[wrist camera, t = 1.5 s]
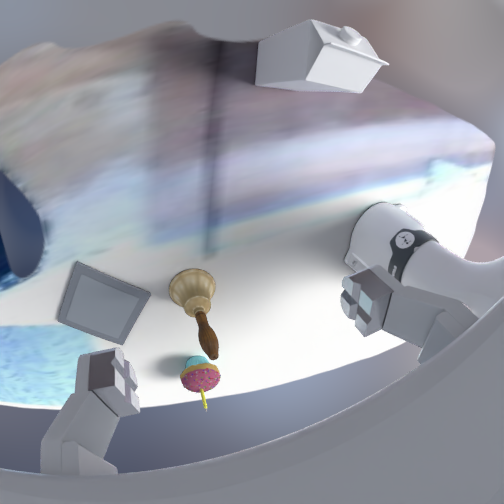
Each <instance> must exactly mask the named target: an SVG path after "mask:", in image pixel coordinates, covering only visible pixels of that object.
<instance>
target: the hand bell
mask: <svg viewBox="0 0 504 504" xmlns="http://www.w3.org/2000/svg"><path fill="white" fill-rule="evenodd" d="M214 292H215V281H214V279H213V277H212V276H211V275H210V274H209V273H207V272H206V271H204V270H200V269H189V270H185V271H183V272H181V273H179V274H178V275H176V276H175V277H174V278H173V280H172V281H171V283H170V287H169V294H170V297H171V299H172V300H173V301H174V302H175V303H176V304H177V305H179V306H181V307H183V308H184V310H185V312H186V314H187V315H189V316H191V317H195V318H196V320H197V323H198V326H199V333H198V336H199V342H200V345H201V347H202V349H203V351H204V352H205V353H206V354H207V355H208V357H209V358H210V359H211V360H215V359H217V358H218V348H219V345H218V339H217V337H216V334H215V332H214V331H213V329H212V328H211V327H210V326H209V324H208V321H207V317H206V314H207V313H208V312H209V310H210V308H211V302H210V299H211V298H212V296H213V294H214Z"/></svg>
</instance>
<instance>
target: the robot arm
mask: <svg viewBox="0 0 504 504" xmlns="http://www.w3.org/2000/svg"><path fill="white" fill-rule="evenodd" d="M345 263H346V264H347V265H349V266H350V267H351V268H352V269H353V270H354V271H355V272H356V273H353V274H351V275H348V276H346V277H344V278H343V280H342V287H343V288H344V289H345V290H344V291H343V293H342V294H341V301H340V302H341V306H342V309H343V311H344V313H345V315H346V316H347V317H348V318H350V319H353V320H355V327H356V328H357V329H358V330H359V331H360V332H361V334H362V335H363V336H364V337H366V336H368V335H370V334H372V333H375V332H377V331H379V330H381V329H382V330H384V331H386V332H388V333H390V334H392V335H394V336H397V337H399V338H401V339H403V340H405V341H407V342H410V343H412V344H414V345H416V346H418V347H421V348H422V350H421V352H420V354H419V356H418V360H417V361H418V362H419V363H420V364H421V365H420V366H418V367H417V368H415V369H414V370H412V371H411V372H409V373H408V374H406V375H404V376H403V377H401V378H400V379H398V380H397V381H395V382H393V383H392V384H390V385H388V386H387V387H385V388H383V389H382V390H380V391H378V392H377V393H375V394H373V395H371V396H369V397H368V398H366V399H364V400H362V401H360V402H358V403H357V404H355V405H353V406H351V407H349V408H347V409H345V410H343V411H341V412H339V413H337V414H335V415H333V416H331V417H328V418H326V419H324V420H322V421H320V422H318V423H315V424H313V425H311V426H308V427H306V428H304V429H302V430H299V431H296V432H294V433H291V434H289V435H286V436H283V437H281V438H278V439H275V440H273V441H270V442H267V443H264V444H261V445H258V446H255V447H252V448H249V449H246V450H242V451H239V452H235V453H232V454H229V455H225V456H222V457H217V458H213V459H209V460H205V461H201V462H196V463H192V464H187V465H182V466H176V467H171V468H165V469H158V470H151V471H144V472H135V473H124V474H118V473H117V468H116V467H115V466H113V465H112V464H110V463H108V462H106V461H105V460H103V458H104V455H105V453H106V450H107V448H108V445H109V443H110V440H111V438H112V435H113V433H114V431H115V428H116V426H117V423H118V421H119V418H118V417H124V416H129V415H133V414H138V413H140V407H139V397H138V396H137V395H136V393H135V390H136V389H137V387H138V386H137V378H136V375H135V371H134V369H133V367H132V365H131V364H130V362H128V361H126V360H124V354H123V352H122V351H121V350H120V348H117V347H116V348H112V349H107V350H102V351H97V352H92V353H88V354H83V355H80V356H79V358H78V364H77V373H76V383H75V393H73V394H71V395H70V397H69V398H68V400H67V401H66V403H65V404H64V406H63V407H62V409H61V410H60V412H59V414H58V415H57V417H56V418H55V420H54V421H53V423H52V424H51V426H50V428H49V429H48V431H47V433H46V434H45V436H44V437H43V439H42V441H41V474H38V473H28V472H20V471H13V470H7V469H1V468H0V504H504V256H502V257H501V258H499V259H496V260H493V261H490V262H484V263H483V262H481V263H480V262H472V261H468V260H465V259H463V258H461V257H460V256H458V255H456V254H454V253H453V252H451V251H449V250H448V249H446V248H445V247H443V246H442V245H440V244H439V242H438V241H437V240H436V239H435V238H434V237H433V236H432V235H431V234H429V233H427V232H425V231H424V226H423V224H422V223H420V222H419V221H418V220H416V219H415V218H414V217H412V216H411V215H409V214H408V213H407V208H406V207H405V206H404V205H403V204H399V205H392V204H390V203H385V202H384V203H378V204H376V205H374V206H372V207H371V208H369V209H368V210H367V211H366V212H365V213H364V214H363V215H362V216H361V218H360V219H359V220H358V222H357V224H356V226H355V228H354V230H353V233H352V237H351V243H350V248H349V251H348V253H347V255H346V257H345ZM462 303H464V304H465V305H467V306H468V307H469V308H470V309H471V311H470V310H469V309H468V308H467V307H466V306H464V305H463V304H462Z"/></svg>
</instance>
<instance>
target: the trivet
mask: <svg viewBox="0 0 504 504" xmlns="http://www.w3.org/2000/svg"><path fill="white" fill-rule="evenodd" d="M150 295H151V293H150V292H147V291H145V290H142V289H140V288H137V287H135V286H133V285H130V284H128V283H125V282H123V281H121V280H118V279H116V278H114V277H111V276H109V275H107V274H104V273H102V272H100V271H98V270H95V269H93V268H91V267H89V266H86V265H84V264H82V263H80V262H78V261H77V263H76V266H75V269H74V271H73V274H72V277H71V280H70V282H69V285H68V288H67V291H66V294H65V298H64V301H63V304H62V307H61V310H60V314H59V317H58V322H61V323H63V324H66V325H68V326H71V327H73V328H76V329H78V330H81V331H83V332H86V333H89V334H91V335H94V336H97V337H100V338H102V339H105V340H108V341H111V342H114V343H117V344H120V345H123V344H124V342H125V340H126V338H127V336H128V334H129V333H130V331H131V329H132V327H133V325H134V324H135V322H136V320H137V318H138V316H139V315H140V313H141V311H142V309H143V308H144V306H145V304H146V302H147V301H148V299H149V297H150Z"/></svg>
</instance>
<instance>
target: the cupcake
mask: <svg viewBox="0 0 504 504" xmlns="http://www.w3.org/2000/svg"><path fill="white" fill-rule="evenodd" d="M220 376H221V375H220V373H219V370H218V368H217V367H216V366H215V365H212V364H210V363H209V362H208V360H207V359H206V358H205V357H202V356H194V357H192V358H190V359H189V360H188V361H187V363H186V369H185V370H184V371H183V372H182V374H181V375H180V378H181V382H182V384H183V386H184V388H187V389H188V390H190V391H191V392H196V393H200V392H201V396H202V401H203V405H204V408H205V409H206V408H207V404H206V400H205V396H204V392H206V391H208V390H211V389H212V388H214V387H215V386H216V385H217V384H218V382H219V381H220ZM206 411H207V410H206Z"/></svg>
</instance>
